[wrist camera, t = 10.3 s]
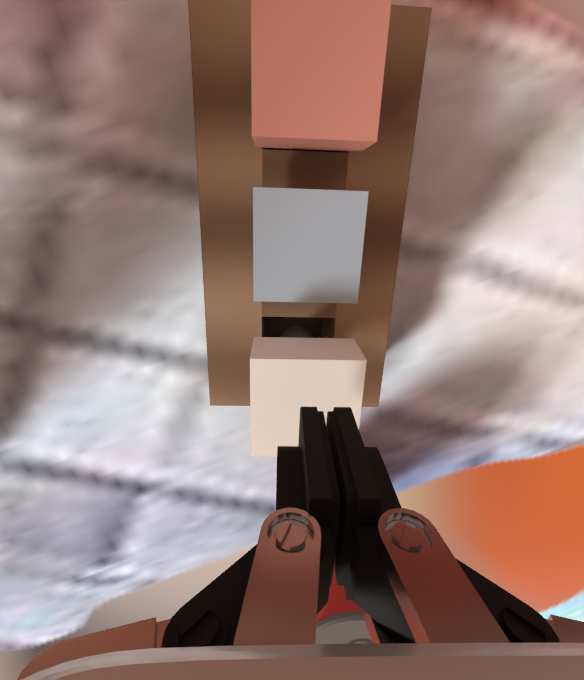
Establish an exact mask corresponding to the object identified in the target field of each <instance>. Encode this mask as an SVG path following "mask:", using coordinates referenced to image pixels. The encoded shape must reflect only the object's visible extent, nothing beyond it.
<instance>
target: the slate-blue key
mask: <svg viewBox="0 0 584 680" xmlns="http://www.w3.org/2000/svg"><path fill="white" fill-rule="evenodd" d="M368 193H369V191H347V190H320V189H293V188H267V187H253V301H264V302H310V303H356V304H358V294H359V284H360V274H361V264H362V254H363V243H364V233H365V223H366V213H367V203H368Z"/></svg>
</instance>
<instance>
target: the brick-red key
mask: <svg viewBox="0 0 584 680" xmlns="http://www.w3.org/2000/svg"><path fill="white" fill-rule="evenodd" d="M390 10H391V0H251V99H252V138H253V141H254V144H255V147H264V148H287V149H310V150H333V151H357V152H362V151H364V150H365V149H367V148H368V147H370V146H371V145H373V144H374V143H376V142H377V137H378V127H379V118H380V108H381V98H382V88H383V78H384V69H385V59H386V49H387V39H388V29H389V20H390Z"/></svg>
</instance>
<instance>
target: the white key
mask: <svg viewBox="0 0 584 680" xmlns="http://www.w3.org/2000/svg"><path fill="white" fill-rule="evenodd" d="M366 363H367V360H366V358H365V357H364V355H363V353H362V352H361V350H360V348H359V346H358V345H357V343H356V341H355V340H354V339H348V338H314V337H313V335H312V333H311V332H310V331H309V330H308V329H306V328H304V327H300V326H293V327H289V328H287V329H286V330H284V331H283V332H282V333H281V335H280V336H279V337H254V338H253V344H252V349H251V355H250V434H251V456H277V446H298V443H299V421H300V407H317V410H318V411H323V413H324V417H325V422H327V412H328V411H333V409H334V407H351V409H352V412H353V415H354V418H355V421H356V424H357V427H358V429H359V424H360V415H361V406H362V398H363V389H364V380H365V372H366Z"/></svg>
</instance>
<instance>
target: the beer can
mask: <svg viewBox="0 0 584 680" xmlns="http://www.w3.org/2000/svg"><path fill="white" fill-rule="evenodd" d="M364 612H365V611H364V610H363V609H362V608H360V607H359V606H358V605H357V604H356V603H355V602H354V601H353V600H346V596H345V590H344V586H338V585H337V582H336V576H335V569H333V579H332V585H331V586H330V590H329V599H328V602H327V604H326V605H325V606H324V607H323V608H322V610H321V611H320V612H319V613H318V614H317V622H316V641H315V644H372V641H371V638H370V635H369V632H368V629H367V626H366V622H365V617H364Z"/></svg>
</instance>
